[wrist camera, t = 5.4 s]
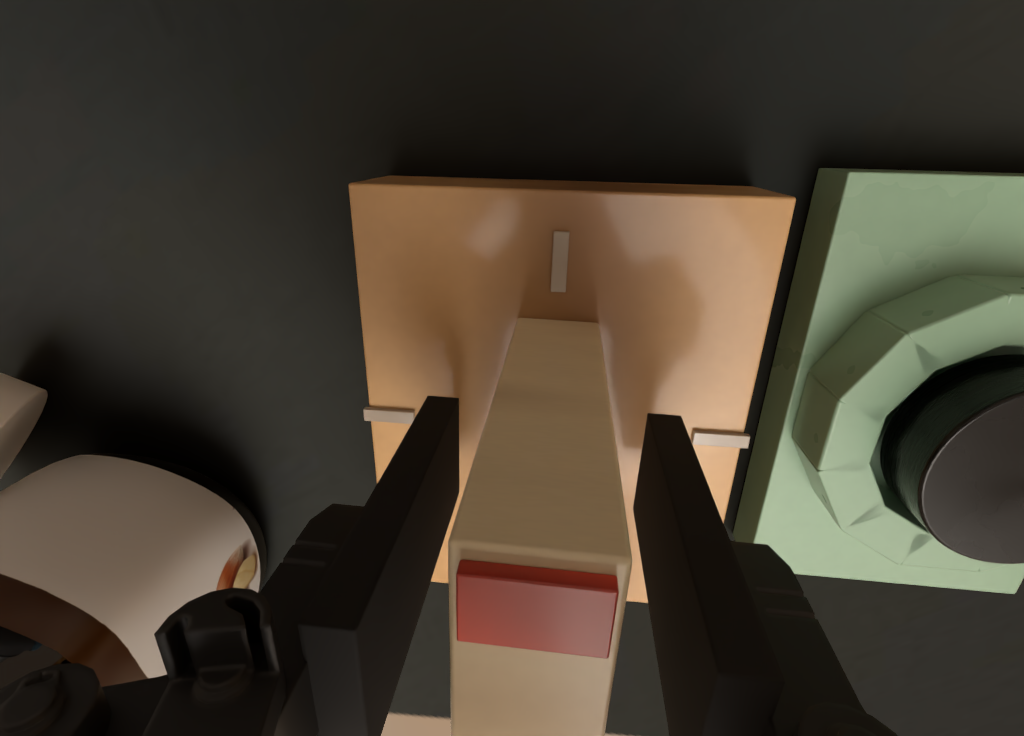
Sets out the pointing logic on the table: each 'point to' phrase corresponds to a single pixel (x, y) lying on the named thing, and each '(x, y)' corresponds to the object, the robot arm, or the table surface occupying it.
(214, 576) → the spread jar
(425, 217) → the dial panel
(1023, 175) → the button box
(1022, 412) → the button
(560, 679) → the dial
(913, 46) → the table surface
